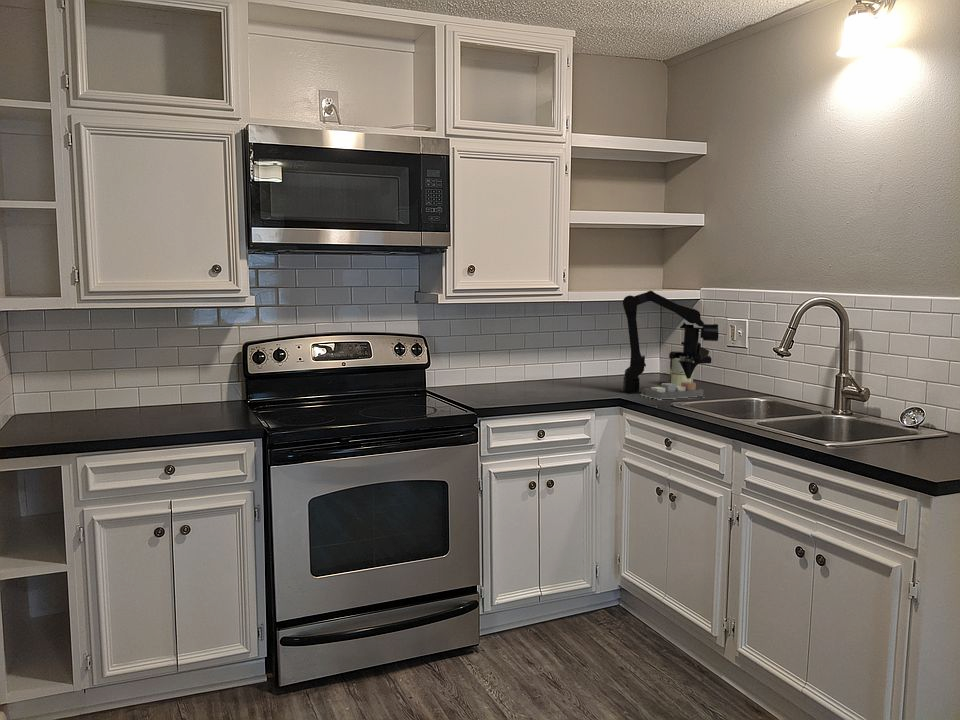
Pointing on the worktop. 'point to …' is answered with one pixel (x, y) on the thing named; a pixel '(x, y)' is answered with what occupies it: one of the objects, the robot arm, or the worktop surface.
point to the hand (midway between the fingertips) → (688, 378)
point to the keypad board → (671, 394)
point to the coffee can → (677, 373)
